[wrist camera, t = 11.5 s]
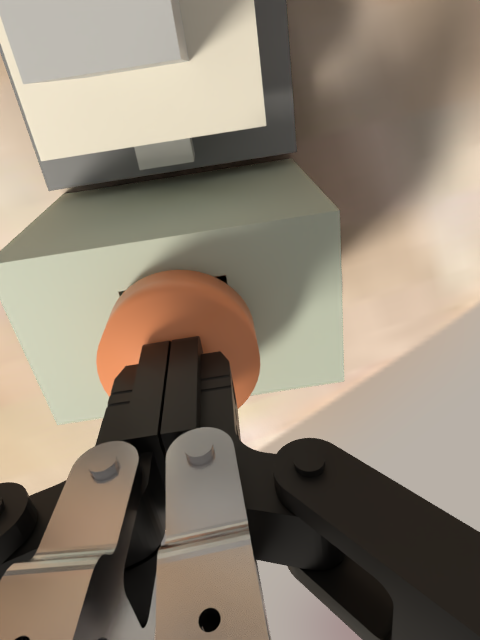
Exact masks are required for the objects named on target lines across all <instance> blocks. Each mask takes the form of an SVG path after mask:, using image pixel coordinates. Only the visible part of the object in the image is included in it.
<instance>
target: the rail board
mask: <svg viewBox="0 0 480 640" xmlns="http://www.w3.org/2000/svg"><path fill="white" fill-rule="evenodd" d="M254 6H255V16H256V26H257V36H258V46H259V56H260V66H261V76H262V86H263V96H264V106H265V116H266V126H262V127H256V128H250V129H243V130H237V131H231V132H224V133H218V134H212V135H205V136H199V137H193V138H186V139H180V140H174V141H167V142H161V143H155V144H148V145H142V146H136V147H129V148H123V149H117V150H110V151H104V152H97V153H91V154H85V155H78V156H72V157H66V158H59V159H53V160H47V161H41V160H40V157H39V154H38V151H37V148H36V145H35V142H34V139H33V136H32V134H31V131H30V128H29V125H28V122H27V119H26V116H25V113H24V110H23V108H22V105H21V102H20V99H19V96H18V93H17V90H16V87H15V84H14V81H13V79H12V76H11V73H10V70H9V67H8V64H7V61H6V58H5V55H4V53H3V50H2V47H1V44H0V53H1V56H2V58H3V61H4V64H5V67H6V70H7V73H8V76H9V78H10V81H11V84H12V87H13V90H14V93H15V96H16V99H17V101H18V104H19V107H20V110H21V113H22V116H23V119H24V121H25V124H26V127H27V130H28V133H29V136H30V139H31V142H32V144H33V147H34V150H35V153H36V156H37V159H38V162H39V164H40V167H41V170H42V173H43V176H44V179H45V182H46V185H47V187H48V190H49V191H52V190H58V189H64V188H71V187H77V186H84V185H90V184H96V183H103V182H109V181H115V180H122V179H128V178H134V177H141V176H147V175H154V174H160V173H166V172H173V171H179V170H185V169H192V168H198V167H205V166H211V165H217V164H224V163H230V162H236V161H243V160H249V159H255V158H262V157H268V156H275V155H281V154H287V153H294V152H297V147H296V133H295V119H294V105H293V90H292V76H291V62H290V48H289V33H288V19H287V5H286V0H254Z"/></svg>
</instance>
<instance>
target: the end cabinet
mask: <svg viewBox="0 0 480 640" xmlns="http://www.w3.org/2000/svg"><path fill="white" fill-rule="evenodd" d="M168 270H191V271H198V272H201V273H205V274H208V275H211V276H213V277H216V276H223V275H226V276H223V277H217V278H218V279H219V280H221V281H223V282H225V283H226V284H227V285H229V286H230V287H231V288H233V289H234V290H235V291H236V292H237V293H238V294H239V295H240V296H241V298H242V299H243V300H244V301H245V303H246V305H247V306H248V308H249V310H250V313H251V315H252V318H253V322H254V327H255V332H256V338H257V343H258V348H259V354H260V373H259V377H258V381H257V383H256V386H255V388H254V390H253V392H252V393H251V395H250V396H252V395H258V394H265V393H272V392H278V391H285V390H291V389H298V388H304V387H311V386H318V385H324V384H331V383H337V382H344V350H343V312H342V269H341V235H340V210H339V209H338V208H337V207H336V206H335V205H334V203H333V202H332V201H331V200H330V199H329V198H328V197H327V196H326V195H325V194H324V193H323V192H322V191H321V189H320V188H319V187H318V186H317V185H316V184H315V183H314V182H313V181H312V180H311V179H310V178H309V177H308V175H307V174H306V173H305V172H304V171H303V170H302V169H301V168H300V167H299V166H298V165H297V164H296V163H295V161H294V160H293V159H292V158H290V159H284V160H277V161H271V162H265V163H258V164H252V165H245V166H239V167H233V168H226V169H220V170H214V171H207V172H201V173H194V174H188V175H182V176H175V177H169V178H163V179H156V180H150V181H144V182H137V183H131V184H124V185H118V186H112V187H105V188H99V189H93V190H86V191H80V192H73V193H67V194H63V195H62V196H61V197H59V198H58V199H57V200H56V201H55V202H54V203H53V204H52V205H51V206H50V207H48V208H47V209H46V210H45V211H44V212H43V213H42V214H41V215H40V216H39V217H37V218H36V219H35V220H34V221H33V222H32V223H31V224H30V225H29V226H27V227H26V228H25V229H24V230H23V231H22V232H21V233H20V234H19V235H18V236H16V237H15V238H14V239H13V240H12V241H11V242H10V243H9V244H8V245H6V246H5V247H4V248H3V249H2V250H1V251H0V301H1V303H2V305H3V308H4V310H5V312H6V314H7V316H8V319H9V321H10V323H11V325H12V327H13V329H14V332H15V334H16V336H17V338H18V340H19V343H20V345H21V347H22V349H23V351H24V353H25V356H26V358H27V360H28V362H29V364H30V366H31V369H32V371H33V373H34V375H35V377H36V380H37V382H38V384H39V386H40V388H41V390H42V393H43V395H44V397H45V399H46V401H47V404H48V406H49V408H50V410H51V412H52V414H53V417H54V419H55V421H56V423H57V425H61V424H67V423H74V422H81V421H87V420H94V419H100V418H104V414H105V411H106V407H108V405H107V404H108V400H109V396H108V394H107V393H106V391H105V390H104V388H103V386H102V384H101V382H100V379H99V376H98V372H97V364H96V359H97V350H98V346H99V343H100V340H101V337H102V335H103V332H104V330H105V327H106V324H107V322H108V319H109V316H110V314H111V311H112V309H113V307H114V305H115V303H116V301H117V300H118V298H119V297H120V296H121V295H122V293H123V292H124V291H125V290H127V289H128V288H129V287H130V286H131V285H133V284H134V283H135V282H137V281H138V280H140V279H142V278H144V277H146V276H149V275H152V274H154V273H158V272H162V271H168Z"/></svg>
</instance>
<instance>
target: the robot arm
mask: <svg viewBox="0 0 480 640" xmlns="http://www.w3.org/2000/svg"><path fill="white" fill-rule="evenodd" d="M107 405H108V407H106V411H105V414H104V418H103V421H102V425H101V428H100V432H99V435H98V439H97V442H96V445H95V447H93V448H91V449H89V450H88V451H86V452H85V453H84V454H83V455H82V456H80V457H79V459H78V460H77V461H76V462H75V464H74V465H73V467H72V469H71V471H70V473H69V476H68V478H67V480H66V481H64V482H62V483H60V484H58V485H55V486H53V487H50V488H48V489H45V490H43V491H40V492H38V493H35V494H33V495H31V496H29V495H28V493H27V491H26V489H25V488H24V487H23V486H22V485H20V484H17V483H10V482H7V483H1V484H0V640H154V638H155V640H271V636H270V631H269V625H268V620H267V615H266V609H265V604H264V599H263V593H262V588H261V582H260V577H259V572H258V566H257V561H256V560H261V561H266V562H271V563H277V564H282V565H287V566H288V568H289V570H290V572H291V573H292V574H293V575H294V577H295V578H296V579H297V580H299V581H300V582H301V583H302V584H303V585H304V586H305V587H306V588H307V589H308V590H309V591H310V592H311V593H313V594H314V595H315V596H316V597H317V598H318V599H319V600H320V601H321V602H322V603H323V604H325V605H326V606H327V607H328V608H329V609H330V610H331V611H332V612H333V613H334V614H335V615H337V616H338V617H339V618H340V619H341V620H342V621H343V622H344V623H345V624H346V625H348V627H350V628H351V629H352V630H353V631H354V632H355V633H356V634H357V635H358V636H359V637H360V638H361V639H363V640H480V532H478V531H476V530H475V529H473V528H472V527H470V526H468V525H467V524H465V523H463V522H462V521H460V520H458V519H456V518H455V517H453V516H452V515H450V514H448V513H446V512H445V511H443V510H442V509H440V508H438V507H437V506H435V505H433V504H432V503H430V502H428V501H427V500H425V499H423V498H422V497H420V496H418V495H417V494H415V493H413V492H412V491H410V490H408V489H407V488H405V487H403V486H402V485H400V484H398V483H397V482H395V481H393V480H392V479H390V478H388V477H387V476H385V475H383V474H382V473H380V472H378V471H377V470H375V469H373V468H371V467H370V466H368V465H366V464H365V463H363V462H362V461H360V460H358V459H357V458H355V457H353V456H352V455H350V454H348V453H347V452H345V451H343V450H342V449H340V448H338V447H337V446H335V445H333V444H332V443H330V442H327V441H324V440H321V439H316V438H304V439H298V440H295V441H292V442H290V443H288V444H286V445H285V446H283V447H282V448H281V449H280V450H279V451H278V453H277V454H272V453H264V452H259V451H256V450H253V449H251V448H249V447H247V446H246V445H244V444H243V443H242V442H241V439H240V429H239V420H238V419H239V418H238V408H237V401H236V396H235V390H234V385H233V379H232V374H231V368H230V363H229V360H228V359H227V358H226V357H225V356H224V355H223V354H222V352H221V351H218V352H212V353H205V354H203V349H202V345H201V340H200V337H199V336H195V337H188V338H182V339H175V340H172V342H171V341H163V342H157V343H150V344H144V345H143V346H142V350H141V354H140V359H139V363H138V364H135V365H128V366H125V367H124V369H123V370H122V371H121V372H120V373H119V374H118V376H117V377H116V378H115V379H114V383H113V386H112V390H111V396H110V397H109V400H108V404H107ZM165 530H166V532H165ZM155 628H156V632H155ZM155 634H156V635H155ZM154 636H155V637H154Z"/></svg>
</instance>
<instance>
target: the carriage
mask: <svg viewBox="0 0 480 640" xmlns="http://www.w3.org/2000/svg"><path fill="white" fill-rule="evenodd" d="M0 44H1V47H2V50H3V53H4V55H5V58H6V61H7V64H8V67H9V70H10V73H11V76H12V79H13V81H14V84H15V87H16V90H17V93H18V96H19V99H20V102H21V105H22V108H23V110H24V113H25V116H26V119H27V122H28V125H29V128H30V131H31V134H32V136H33V139H34V142H35V145H36V148H37V151H38V154H39V157H40V160H41V161H47V160H53V159H59V158H66V157H72V156H78V155H85V154H91V153H97V152H104V151H110V150H117V149H123V148H129V147H136V146H142V145H148V144H155V143H161V142H167V141H174V140H180V139H186V138H193V137H199V136H205V135H212V134H218V133H224V132H231V131H237V130H243V129H250V128H256V127H262V126H266V116H265V106H264V96H263V86H262V76H261V66H260V56H259V46H258V36H257V26H256V16H255V6H254V0H0Z"/></svg>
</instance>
